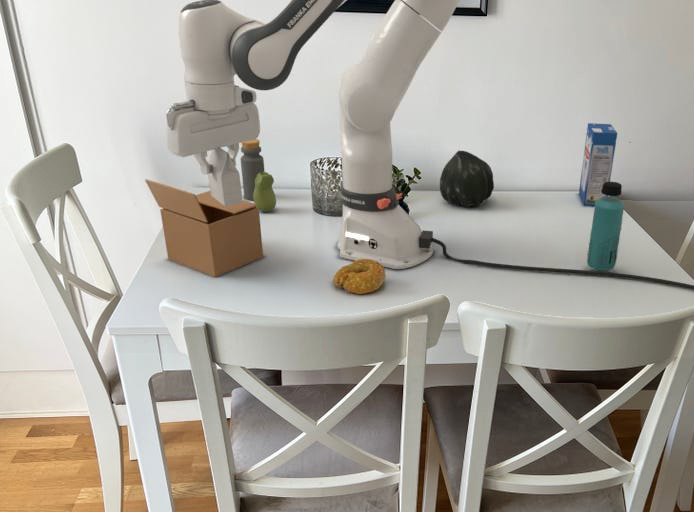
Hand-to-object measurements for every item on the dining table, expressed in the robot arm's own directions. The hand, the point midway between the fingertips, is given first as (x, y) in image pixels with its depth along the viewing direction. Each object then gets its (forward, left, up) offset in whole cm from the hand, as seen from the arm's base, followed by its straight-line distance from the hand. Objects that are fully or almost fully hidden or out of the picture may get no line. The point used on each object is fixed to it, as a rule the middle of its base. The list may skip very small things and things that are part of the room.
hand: (219, 170), depth 146 cm
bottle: (+33, -38, -23) cm, 55 cm away
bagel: (-24, -12, -23) cm, 35 cm away
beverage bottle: (-61, -51, -23) cm, 83 cm away
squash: (-13, -71, -23) cm, 76 cm away
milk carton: (-40, -96, -23) cm, 106 cm away
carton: (+9, -4, -22) cm, 24 cm away
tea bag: (-2, 0, -6) cm, 6 cm away
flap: (+9, +4, -7) cm, 12 cm away
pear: (+23, -32, -23) cm, 45 cm away
